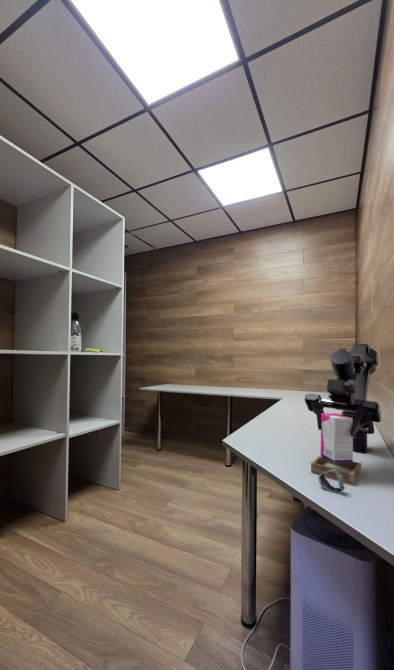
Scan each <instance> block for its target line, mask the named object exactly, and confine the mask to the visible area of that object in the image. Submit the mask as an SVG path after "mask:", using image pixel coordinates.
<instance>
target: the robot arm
mask: <svg viewBox="0 0 394 670" xmlns="http://www.w3.org/2000/svg"><path fill="white" fill-rule="evenodd" d="M329 362H330V363H331V367H332V371H333V373H334V375H335V376H336V378H335V379H333V378H332V379H328V380H327V383H326V385H327V386H326V392H328V395H327V396H328V398H329V399H330V400H328V399H322V397H321V395H320V394H314V393H306V395H305V396H304V401H305V405H306V407H307V409H308V411H309V412H311V413H312V412H313V414H315V415H316V421H317V429H318V431H321V413H325V411H324V408H328V409H335V410H337V411H341V413H340V414H341V415H344V416H348V417H351V418H353V425H352V428H351V437H353V451H354V452H358V453H361V454H366V453H368V452H370V451H372V448H371V447H369V446H368V435H374V434H375V425H374V424H375V423H381V421H382V412H381V407H380V404H379V403H378V402H377V401H373V400H368V393H369V384H370V378H371V375H372V374H374V373H375V372H377V366H379V364H380V359H379V354H378V351H376V350H375V349H373V348H372V347H371V345H370V344H367V343H356V344H353V346H352V348H351V349H350V351H348V349H347V348H344V347H343V348H338V350H336V351H334V352H333V353H331V354H330V355H329Z"/></svg>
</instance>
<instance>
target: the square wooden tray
mask: <svg viewBox="0 0 394 670" xmlns="http://www.w3.org/2000/svg"><path fill="white" fill-rule="evenodd" d="M333 469H335V470H338V471H339V472H340V474H341V475H342V477H343V480H344V484H347V485H349V486H353V485H354V484H355V483H356V481H357V479H358V478H359V476H361V474H362V463H361V462H356V461H353V462H340V463H334V462H332V461H330V460H329V459H327V458H325V457H324V456H322V455H321V454H320V455H319V456H317V458H316V459H314V460H312V462H310V473H311V474H314V475H317V476H319V475H320V474H321V473H322V472H324V471H329V470H333ZM324 477H325V478H326V479H327V478H328V479H331V480H334V481H337V482H338V479H337V477H336V476H335V474H334V472H329V473H327V474H324Z"/></svg>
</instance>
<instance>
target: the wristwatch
mask: <svg viewBox="0 0 394 670" xmlns="http://www.w3.org/2000/svg"><path fill="white" fill-rule="evenodd" d="M329 472H334V474H335V476H336V477H337V479H338V481H337V482H338V487H334V486H333V485H331V484H330V482H329V481H328V479H327V477H324V474H327V473H329ZM317 481H318V482H319V484H320V485H321V486H322V488H323V490H327V491H328V492H332V493H334V492H336V493H339V494H341V493H342V492H344V491H345V489H346V487H345V486H344V485H345V483H344V480H343V477H342V475H341V474H340V472H339V471H338V470H335V469H333V470H329V471H324V472H322V473H321V474H320V475H318V478H317Z"/></svg>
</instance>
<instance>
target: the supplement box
mask: <svg viewBox="0 0 394 670" xmlns="http://www.w3.org/2000/svg"><path fill="white" fill-rule="evenodd" d="M352 425H353V418H351V417H348V416H344V415H341V413H335V412H334V413H327V412H326V413H325V412H324V413H321V430H320V455H322V456H324V457H325V458H327V459H329V460H330V461H332V462H334V463H340V462H354V459H353V458H354V456H353V455H354V453H353V451H354V450H353V437H351V428H352Z"/></svg>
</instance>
